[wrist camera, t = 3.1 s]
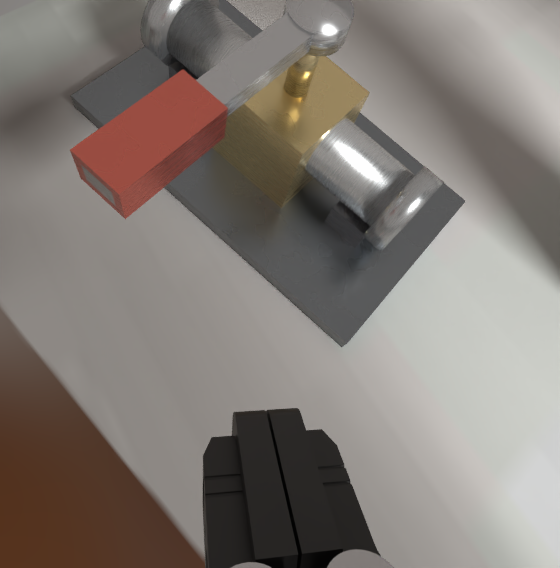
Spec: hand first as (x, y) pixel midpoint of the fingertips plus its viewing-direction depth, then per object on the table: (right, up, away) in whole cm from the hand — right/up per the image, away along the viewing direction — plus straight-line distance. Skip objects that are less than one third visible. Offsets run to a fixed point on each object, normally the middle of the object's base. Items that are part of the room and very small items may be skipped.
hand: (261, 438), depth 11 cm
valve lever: (-2, +13, +13) cm, 19 cm away
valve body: (0, +13, +27) cm, 30 cm away
